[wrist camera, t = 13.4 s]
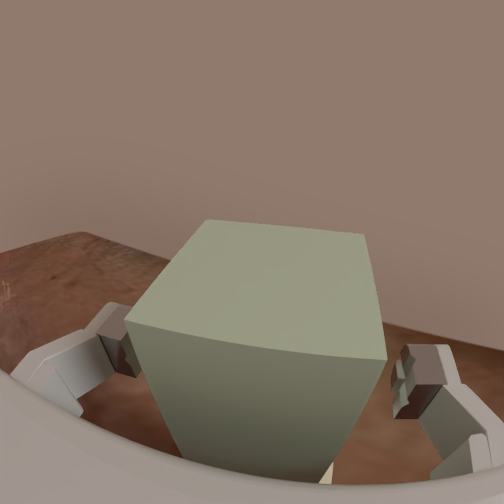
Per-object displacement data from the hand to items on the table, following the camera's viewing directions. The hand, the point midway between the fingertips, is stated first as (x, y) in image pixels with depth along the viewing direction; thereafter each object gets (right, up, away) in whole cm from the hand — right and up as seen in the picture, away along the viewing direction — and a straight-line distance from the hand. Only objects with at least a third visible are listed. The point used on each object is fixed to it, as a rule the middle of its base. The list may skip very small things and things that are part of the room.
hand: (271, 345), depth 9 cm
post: (0, -6, +2) cm, 7 cm away
